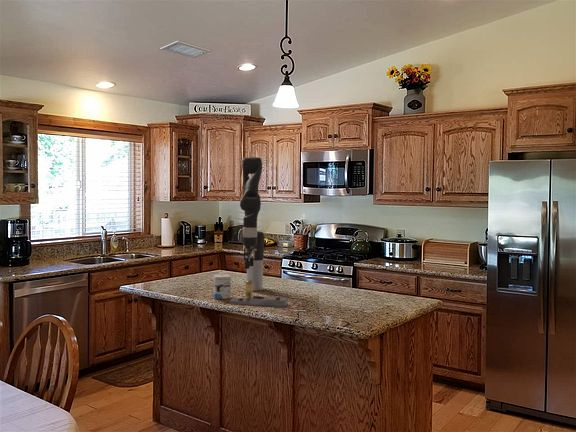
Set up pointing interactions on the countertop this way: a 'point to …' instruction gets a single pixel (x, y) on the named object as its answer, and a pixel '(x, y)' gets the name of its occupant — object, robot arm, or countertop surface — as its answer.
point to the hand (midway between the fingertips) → (249, 267)
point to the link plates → (261, 301)
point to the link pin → (248, 289)
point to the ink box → (222, 287)
